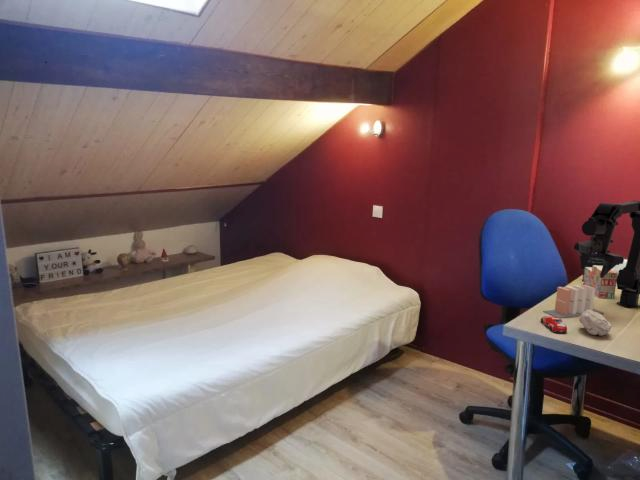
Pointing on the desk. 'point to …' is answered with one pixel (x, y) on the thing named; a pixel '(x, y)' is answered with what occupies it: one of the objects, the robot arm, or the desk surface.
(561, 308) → the domino
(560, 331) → the race car
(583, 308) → the domino
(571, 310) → the domino
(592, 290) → the domino
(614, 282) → the stack of blocks
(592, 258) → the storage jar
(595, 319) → the fossil replica
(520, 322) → the desk surface
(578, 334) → the desk surface
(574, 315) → the domino mat
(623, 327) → the desk surface
